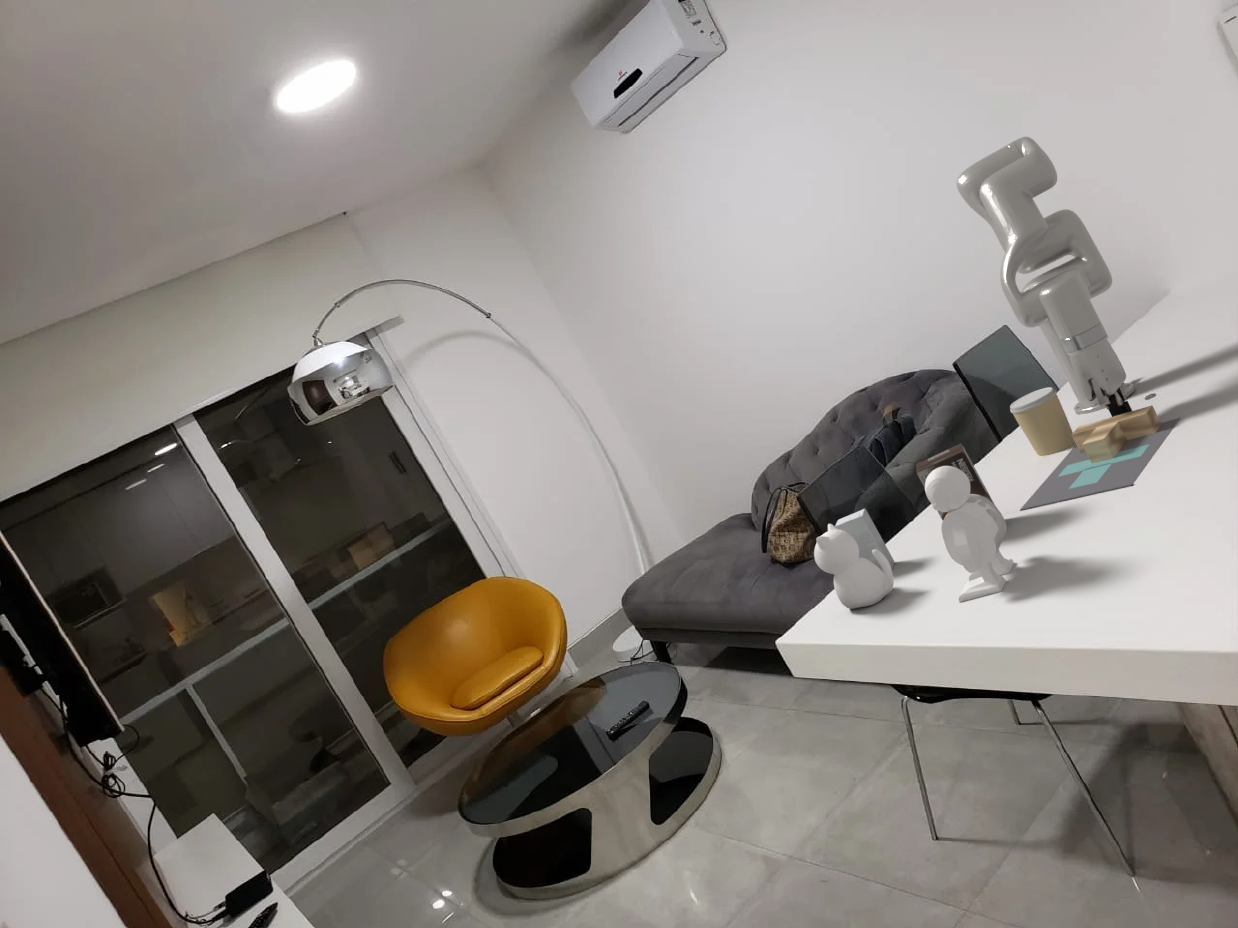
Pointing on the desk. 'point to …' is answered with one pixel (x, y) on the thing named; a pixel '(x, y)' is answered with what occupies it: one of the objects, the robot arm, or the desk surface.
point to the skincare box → (865, 536)
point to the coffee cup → (1043, 421)
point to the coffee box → (958, 460)
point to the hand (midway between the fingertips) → (1126, 422)
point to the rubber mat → (1112, 479)
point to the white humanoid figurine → (970, 531)
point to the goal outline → (1098, 467)
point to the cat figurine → (852, 569)
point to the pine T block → (1114, 433)
